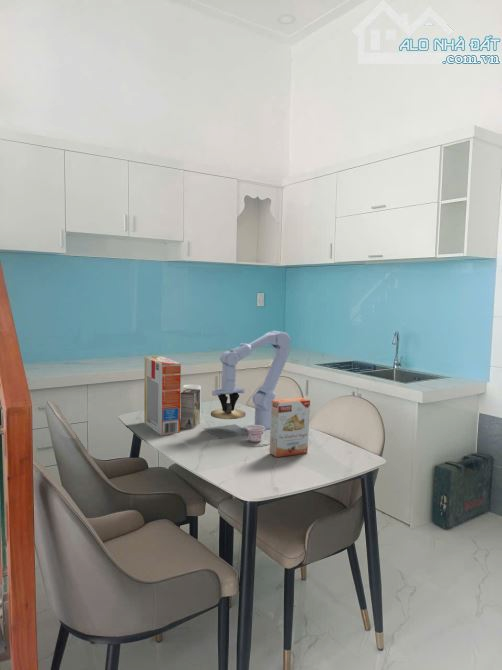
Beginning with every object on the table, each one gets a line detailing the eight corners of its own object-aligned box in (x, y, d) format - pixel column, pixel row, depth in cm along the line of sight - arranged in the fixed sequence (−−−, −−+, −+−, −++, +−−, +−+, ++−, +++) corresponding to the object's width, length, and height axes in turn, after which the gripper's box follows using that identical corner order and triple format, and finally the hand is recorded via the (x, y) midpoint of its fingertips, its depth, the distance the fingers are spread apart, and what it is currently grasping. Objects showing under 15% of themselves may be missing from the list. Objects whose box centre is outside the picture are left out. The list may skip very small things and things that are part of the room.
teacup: (249, 436, 216) (249, 422, 216) (275, 441, 210) (275, 426, 210) (235, 443, 206) (235, 428, 205) (261, 449, 200) (262, 433, 199)
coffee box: (186, 423, 234) (187, 388, 232) (200, 424, 232) (200, 389, 231) (179, 428, 225) (180, 392, 223) (193, 429, 223) (194, 393, 222)
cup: (203, 419, 241) (204, 385, 239) (192, 423, 234) (193, 388, 232) (190, 416, 245) (190, 383, 244) (179, 420, 238) (179, 386, 237)
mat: (235, 425, 232) (235, 424, 232) (253, 434, 218) (253, 433, 218) (202, 429, 224) (203, 428, 224) (219, 439, 210) (219, 438, 210)
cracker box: (277, 458, 189) (278, 402, 187) (268, 453, 195) (270, 399, 193) (308, 453, 196) (310, 399, 194) (300, 448, 201) (301, 396, 199)
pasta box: (179, 433, 218) (180, 363, 215) (161, 435, 214) (162, 364, 211) (161, 420, 237) (161, 356, 234) (144, 422, 233) (144, 357, 230)
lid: (235, 409, 231) (235, 398, 230) (251, 416, 218) (252, 405, 217) (204, 412, 223) (204, 401, 223) (220, 420, 210) (220, 409, 210)
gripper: (239, 376, 226) (238, 407, 227) (209, 379, 219) (208, 410, 220) (247, 379, 220) (246, 410, 221) (216, 382, 213) (216, 414, 214)
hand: (228, 410), depth 220 cm, fingers closed on lid, 3 cm apart
